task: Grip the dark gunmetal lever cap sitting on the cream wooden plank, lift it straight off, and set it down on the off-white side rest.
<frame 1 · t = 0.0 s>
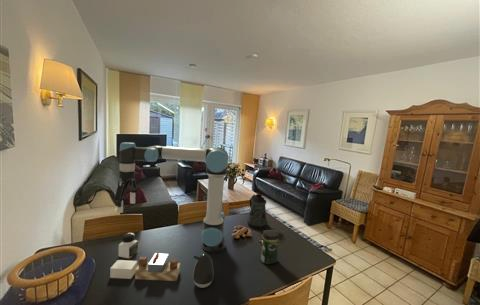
hand: (126, 207, 116), 28 cm above the table, fingers open, 13 cm apart
coffee jar: (268, 260, 123), on the table
medicine bottle: (128, 254, 119), on the table
cream wooden plank: (158, 275, 104), on the table
lever cap: (158, 266, 104), point 5 cm above the table, touching cream wooden plank
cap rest: (124, 273, 104), on the table
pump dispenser: (202, 283, 101), on the table
beer stein: (255, 224, 170), on the table
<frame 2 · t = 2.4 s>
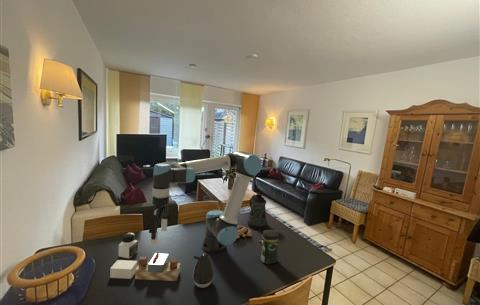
hand: (159, 237, 102), 20 cm above the table, fingers open, 13 cm apart
nothing on the table moved.
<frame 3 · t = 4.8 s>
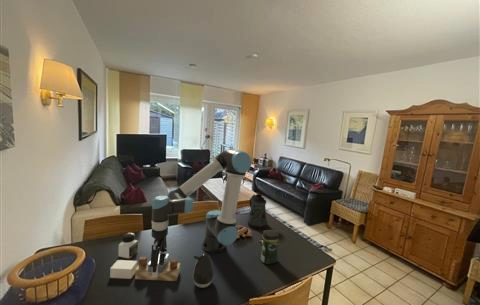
hand: (158, 270, 104), 3 cm above the table, fingers closed on lever cap, 9 cm apart
lever cap: (158, 266, 104), point 5 cm above the table, touching gripper, cream wooden plank
everything else where it was.
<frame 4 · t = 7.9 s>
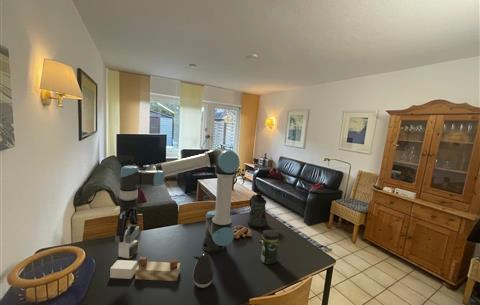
hand: (127, 242, 102), 17 cm above the table, fingers closed on lever cap, 9 cm apart
lever cap: (127, 238, 102), point 19 cm above the table, touching gripper
everything else where it was.
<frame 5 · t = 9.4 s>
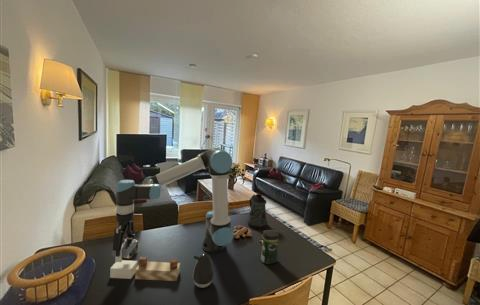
hand: (124, 255, 103), 10 cm above the table, fingers closed on lever cap, 9 cm apart
lever cap: (124, 251, 102), point 12 cm above the table, touching gripper
everything else where it was.
when the fingers open (4 cm above the table, at t = 10.9 s): lever cap drops 1 cm, resting on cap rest.
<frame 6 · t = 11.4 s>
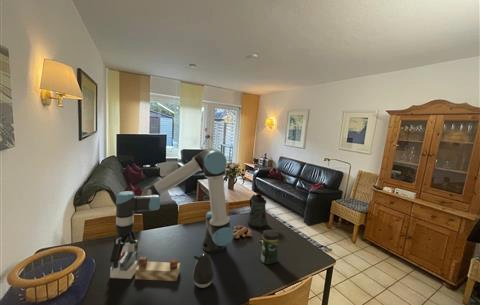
hand: (124, 263, 103), 5 cm above the table, fingers open, 13 cm apart
lever cap: (124, 264, 103), point 5 cm above the table, touching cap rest
everything else where it was.
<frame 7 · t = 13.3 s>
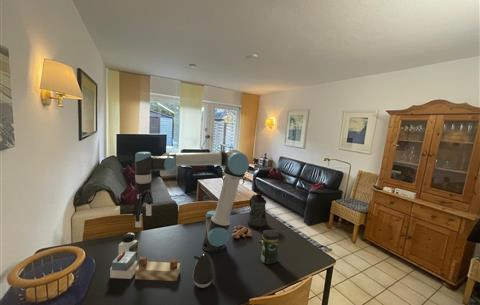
hand: (143, 220, 110), 24 cm above the table, fingers open, 13 cm apart
nothing on the table moved.
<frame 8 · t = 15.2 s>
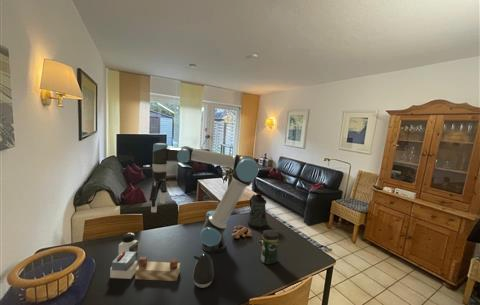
hand: (158, 207, 118), 29 cm above the table, fingers open, 13 cm apart
nothing on the table moved.
at the end: lever cap 0.0 cm off-centre on the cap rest, point 5.0 cm above the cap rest's base; lever cap tilted 0°; lever cap touching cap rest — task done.
